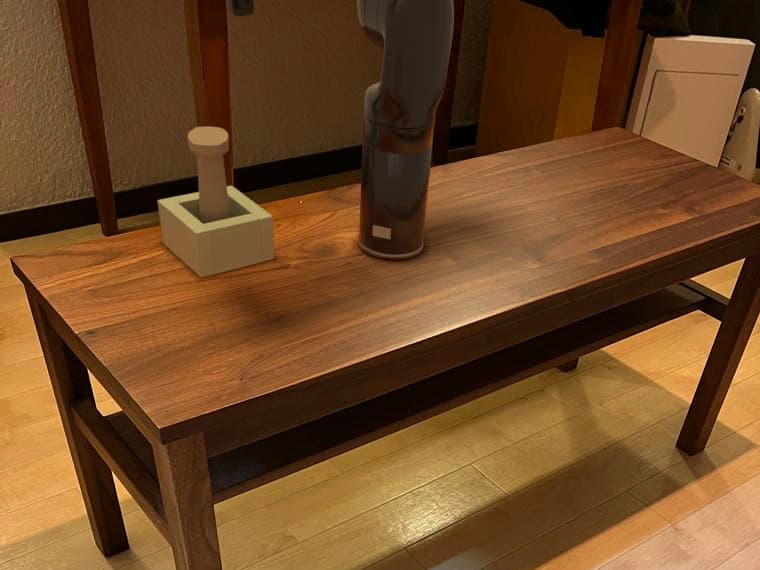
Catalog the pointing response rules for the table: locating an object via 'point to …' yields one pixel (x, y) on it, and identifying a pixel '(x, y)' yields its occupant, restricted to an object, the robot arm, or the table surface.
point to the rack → (217, 234)
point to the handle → (211, 171)
